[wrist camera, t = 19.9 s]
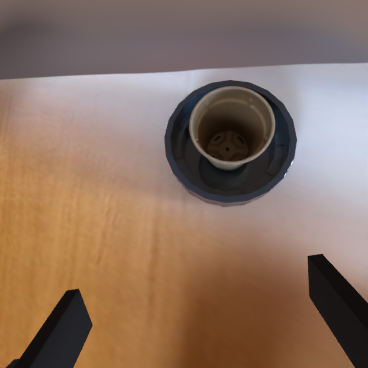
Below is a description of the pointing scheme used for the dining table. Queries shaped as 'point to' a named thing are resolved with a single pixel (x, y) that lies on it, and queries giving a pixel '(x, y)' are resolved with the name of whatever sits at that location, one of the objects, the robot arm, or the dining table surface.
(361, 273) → the dining table surface
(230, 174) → the bowl
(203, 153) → the flower pot
